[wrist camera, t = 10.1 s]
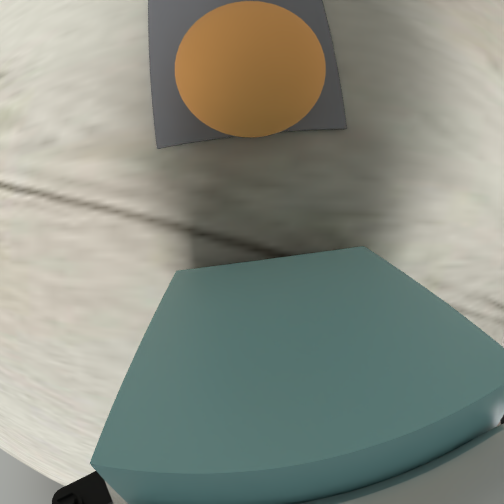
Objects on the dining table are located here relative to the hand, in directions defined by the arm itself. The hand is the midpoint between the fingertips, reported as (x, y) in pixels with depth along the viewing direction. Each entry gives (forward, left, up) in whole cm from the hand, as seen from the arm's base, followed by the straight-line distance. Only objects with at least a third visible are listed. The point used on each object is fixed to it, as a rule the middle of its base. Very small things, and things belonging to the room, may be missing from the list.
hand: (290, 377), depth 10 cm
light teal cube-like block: (0, 0, -3) cm, 3 cm away
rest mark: (0, -13, -4) cm, 13 cm away
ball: (0, -11, -1) cm, 11 cm away
